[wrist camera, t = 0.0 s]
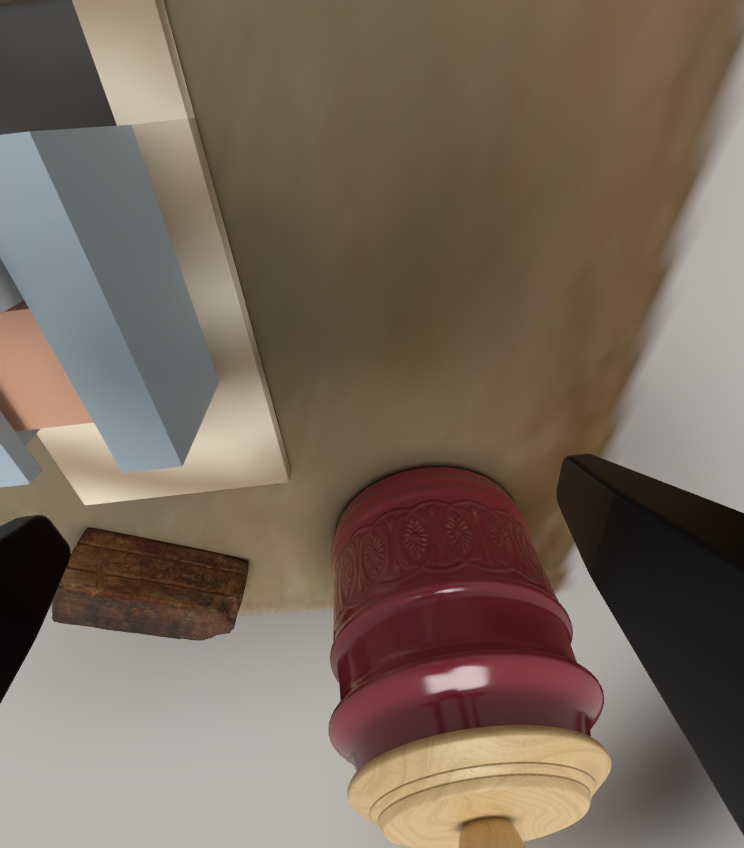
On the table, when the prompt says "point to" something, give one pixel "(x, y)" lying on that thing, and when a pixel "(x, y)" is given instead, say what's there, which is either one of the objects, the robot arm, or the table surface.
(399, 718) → the canister
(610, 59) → the table surface
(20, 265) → the light blue blocks
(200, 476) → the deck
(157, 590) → the brick
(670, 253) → the table surface
